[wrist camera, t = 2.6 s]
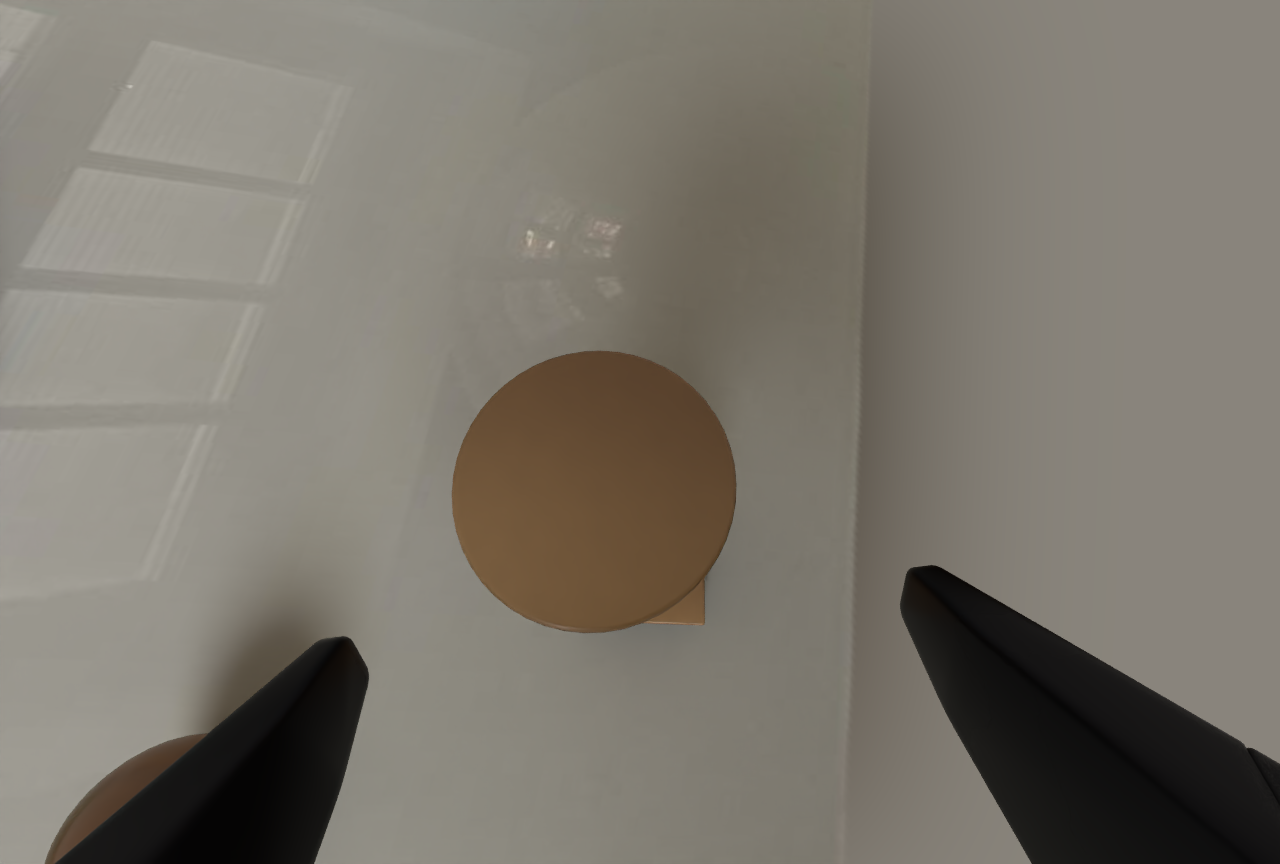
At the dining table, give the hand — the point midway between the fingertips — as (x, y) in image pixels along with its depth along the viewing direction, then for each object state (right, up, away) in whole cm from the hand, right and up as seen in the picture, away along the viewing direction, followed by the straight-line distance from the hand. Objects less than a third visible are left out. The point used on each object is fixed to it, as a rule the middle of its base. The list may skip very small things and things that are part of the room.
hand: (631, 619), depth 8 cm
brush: (0, -1, +9) cm, 9 cm away
